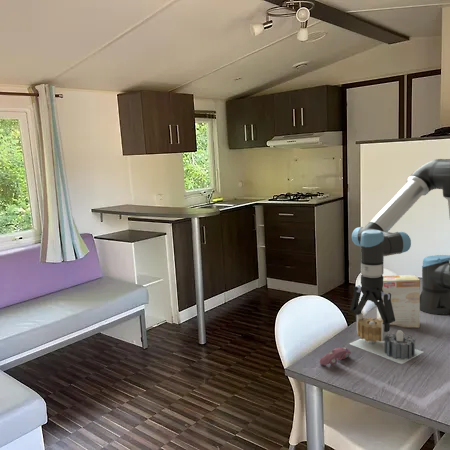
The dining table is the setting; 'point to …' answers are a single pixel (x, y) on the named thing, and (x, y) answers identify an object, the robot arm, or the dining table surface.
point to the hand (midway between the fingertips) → (371, 335)
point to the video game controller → (335, 356)
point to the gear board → (382, 347)
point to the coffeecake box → (403, 299)
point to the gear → (399, 346)
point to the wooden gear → (369, 329)
